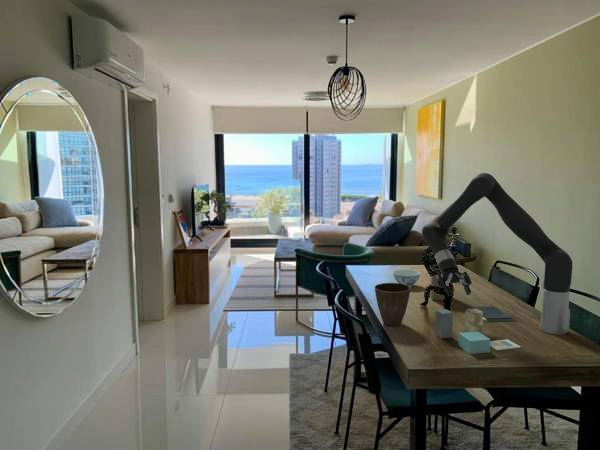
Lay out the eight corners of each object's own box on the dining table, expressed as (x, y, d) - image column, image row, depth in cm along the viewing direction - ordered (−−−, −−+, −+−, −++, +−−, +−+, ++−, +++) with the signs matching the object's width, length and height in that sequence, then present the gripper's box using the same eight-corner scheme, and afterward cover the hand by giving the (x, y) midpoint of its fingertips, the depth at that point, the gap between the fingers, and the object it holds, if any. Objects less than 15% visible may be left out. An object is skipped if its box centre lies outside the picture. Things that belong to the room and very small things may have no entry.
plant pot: (384, 331, 178) (384, 293, 176) (368, 319, 192) (368, 284, 190) (416, 327, 182) (417, 290, 180) (398, 316, 196) (399, 281, 194)
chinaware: (421, 289, 239) (421, 276, 238) (393, 288, 242) (393, 275, 241) (418, 282, 254) (418, 269, 253) (392, 282, 256) (392, 269, 255)
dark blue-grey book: (518, 318, 188) (483, 319, 187) (518, 323, 188) (483, 323, 188) (495, 304, 208) (464, 305, 207) (495, 308, 208) (464, 309, 207)
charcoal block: (445, 333, 176) (446, 309, 174) (451, 337, 171) (452, 312, 170) (435, 334, 175) (436, 310, 173) (441, 338, 170) (442, 313, 169)
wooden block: (450, 296, 226) (452, 258, 224) (451, 301, 217) (453, 262, 214) (430, 295, 229) (431, 257, 227) (431, 300, 220) (432, 261, 217)
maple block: (474, 332, 176) (475, 308, 175) (481, 336, 172) (482, 311, 171) (465, 333, 175) (466, 309, 174) (471, 337, 171) (472, 312, 170)
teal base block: (477, 344, 165) (478, 331, 164) (490, 352, 157) (490, 339, 156) (458, 345, 164) (458, 332, 163) (469, 354, 156) (469, 341, 155)
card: (507, 340, 167) (507, 339, 167) (520, 347, 160) (520, 346, 160) (484, 343, 165) (484, 341, 165) (496, 350, 158) (496, 348, 158)
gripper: (434, 258, 187) (448, 291, 177) (464, 256, 190) (479, 289, 180) (428, 267, 193) (441, 300, 183) (456, 266, 196) (471, 298, 186)
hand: (460, 294), depth 182 cm, fingers open, 8 cm apart
